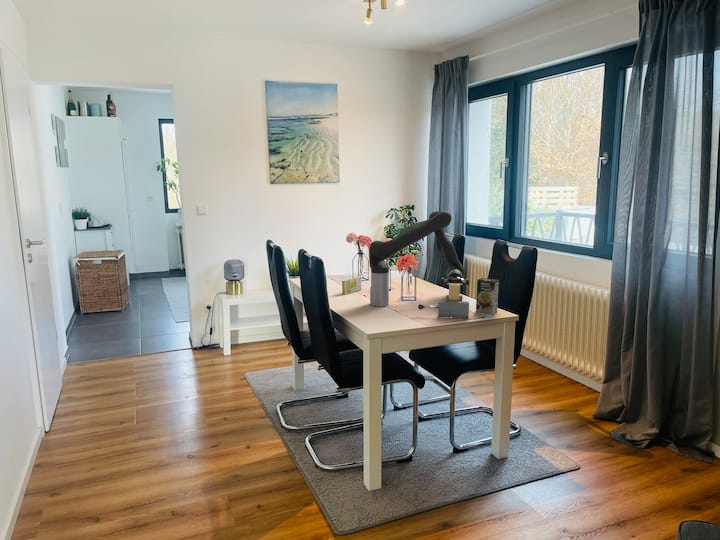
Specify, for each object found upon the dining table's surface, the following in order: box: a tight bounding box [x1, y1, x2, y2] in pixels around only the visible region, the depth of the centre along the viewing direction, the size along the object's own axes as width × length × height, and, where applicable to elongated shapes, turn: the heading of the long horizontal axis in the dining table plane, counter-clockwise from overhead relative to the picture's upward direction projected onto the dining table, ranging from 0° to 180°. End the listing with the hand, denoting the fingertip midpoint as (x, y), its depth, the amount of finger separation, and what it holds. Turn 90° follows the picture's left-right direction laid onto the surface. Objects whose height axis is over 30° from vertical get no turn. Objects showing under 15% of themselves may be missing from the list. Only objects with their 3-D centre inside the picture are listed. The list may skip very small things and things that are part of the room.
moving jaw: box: [445, 294, 463, 302], centre depth 266 cm, size 8×4×8 cm, turn 80°
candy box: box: [341, 276, 362, 296], centre depth 310 cm, size 16×2×8 cm, turn 144°
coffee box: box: [475, 277, 500, 315], centre depth 264 cm, size 9×6×16 cm
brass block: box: [448, 283, 461, 301], centre depth 258 cm, size 5×5×15 cm
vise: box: [417, 300, 470, 320], centre depth 261 cm, size 24×15×8 cm, turn 80°
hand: (454, 283), depth 269 cm, fingers open, 8 cm apart
